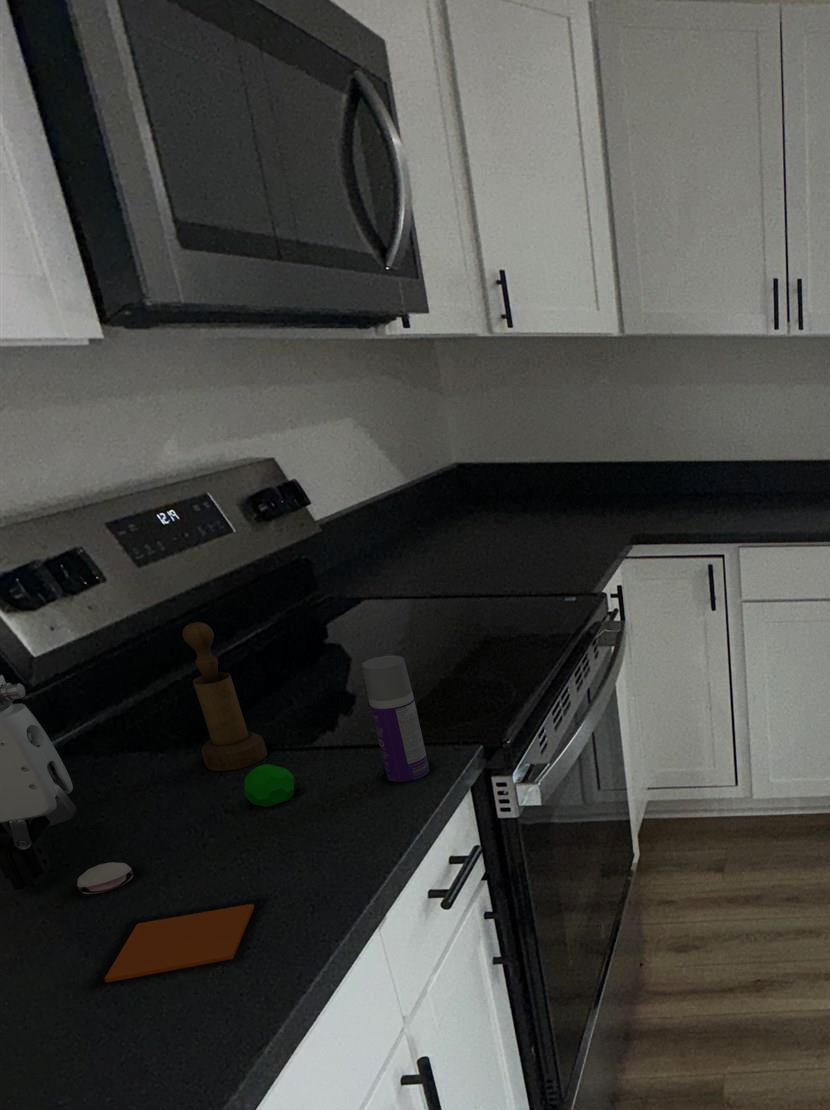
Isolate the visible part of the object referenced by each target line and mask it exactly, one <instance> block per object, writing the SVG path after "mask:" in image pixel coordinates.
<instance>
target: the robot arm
mask: <svg viewBox="0 0 830 1110" xmlns="http://www.w3.org/2000/svg"><path fill="white" fill-rule="evenodd" d="M26 693H27V692H26V688H25V686H24V685H23V684H22V683H11V682H7V681H6V679H5V677H4V675H3V674H0V870H1V872H2V874H3V877H4V878H5V879H7V880H9V881H10V883H11V885H12V887H13V889H14V890H15V891H16V890H17V891H18V890H23V889H25V888H26V887H28V888H36V887H38V886H39V885H40V883H41V882H42V881H43V880H44V879H45V877H46V876H47V875H48V874H49V873H50V869H51V861H50V859H49V856H48V855H47V853H46V850H45V847H44V845H43V843H42V841H41V839H40V837H41V836H42V835H43V834H44V832H45V831H46V830H47V828H48V827H51V826H56V825H58V824H60V823H61V824H62V823H64V822H66V821H69V820H71V819H72V818H73V817H74V816H75V815H76V814H77V812H78V808H77V805H75V803H74V802H73V801H72V800H71V799H70V797H69V796H68V795H70V794H71V793H72V792H73V790H74V785H73V782H72V779H71V777H70V775H69V773H68V770H67V768H66V766H65V764H64V762H63V760H62V759H61V756H60V755H59V753H58V751H57V749H56V747H55V745H54V743H52V740H51V739H50V737H49V735H48V734H47V733H46V731H45V729H44V728H43V727H42V725H41V723H40V722H39V721H38V720H37V718H36V717H35V715H34V714H33V713H32V711H31V710H30V709H29V708H28V707H27V705H26V704H24V703H13V702H14V701H16V700H17V699H24V698H25V697H26ZM7 823H9V826H8V824H7Z"/></svg>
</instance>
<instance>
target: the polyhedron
mask: <svg viewBox="0 0 830 1110" xmlns="http://www.w3.org/2000/svg"><path fill="white" fill-rule="evenodd" d="M244 795H245V798H246V799H247V800H248V801H249V802H250V803H251V804H253V805H256V806H259V807H263V808H267V807H273V806H276V805H279V804H282V803H285V802H287V801H289V800H291V798H293V796H294V795H295V779H294V775H293V773H291V771H289V770H288V768H285V767H281V766H277V765H274V764H270V763H265V764H262V765H259V766H256V767H255V768H253V769H252V770H250V771H249V773H248V774H247V775H246V776H245V777H244Z"/></svg>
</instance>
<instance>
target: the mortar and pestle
mask: <svg viewBox="0 0 830 1110" xmlns="http://www.w3.org/2000/svg"><path fill="white" fill-rule="evenodd" d="M182 638H183V640H184V643H186V644H187V645H188V646H189V647H190V648H192V650H194V651H195V654H196V659H195V660H194V664H195V666H196V668H197V669H198V671H199V672H200V674H201V675H200V676H198V677H196V678H195V679H193V680H192V683H193V687H194V690H195V693H196V696H197V699H198V701H199V705H200V708H201V711H202V715H203V718H204V720H205V724H206V727H207V731H208V734H209V737H210V739H208V740H207V741H206V742H205V744H204V745H202V748H201V750H200V751H201V755H202V759H203V761H204V765H205V767H206V769H208V770H210V771H214V772H228V771H234V770H241V769H245V768H248V767H251V766H254V765H256V764H258V763H260V762H262V761H264V759H265V758H266V757H267V756H268V750H267V747H266V743H265V741H264V738H263V736H261V735H260V734H257V733H255V732H253V731H249V730H248V728H247V725H246V722H245V719H244V716H243V711H242V709H241V706H240V703H239V698H238V695H237V693H236V689H235V685H234V682H233V679H232V676H231V674H230V673H229V672H224V671H221V672H220V671H219V660H218V657H217V656H214V655H213V654H212V652H211V648H212V645H213V642H214V638H215V634H214V631H213V629H212V627H211V626H209V624H207V623H206V622H203V621H202V622H201V621H195V622H191V623H189V624H187V625H185V627H184V628H183V629H182Z"/></svg>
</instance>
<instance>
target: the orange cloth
mask: <svg viewBox="0 0 830 1110" xmlns="http://www.w3.org/2000/svg"><path fill="white" fill-rule="evenodd" d="M254 910H255V905H254V903H250V904H249V903H248V904H243V905H237V906H231V907H226V908H220V909H214V910H213V909H212V910H209V911H208V910H207V911H203V912H196V913H191V914H185V915H179V916H173V917H168V918H162V919H156V920H150V921H145V922H139V923H136V925H135V927H134V929H133V930H132V932H131V933H130V935H129V937H128V938H127V940H126V942H125V944H124V945H123V947H122V948H121V950H120V952H119V953H118V955H117V957H116V959H115V960H114V962H113V963H112V966H111V967H110V968H109V971H108V972H107V973H106V975H105V977H104V982H105V983H112V982H117V981H122V980H128V979H133V978H138V977H144V976H149V975H154V974H161V973H165V972H170V971H175V970H181V969H186V968H192V967H198V966H202V965H207V964H212V963H218V962H222V961H229V960H233V959H234V957H235V955H236V952H237V950H238V949H239V945H240V943H241V940H242V938H243V936H244V934H245V931H246V929H247V926H248V923H249V921H250V919H251V916H252V914H253V912H254Z"/></svg>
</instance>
